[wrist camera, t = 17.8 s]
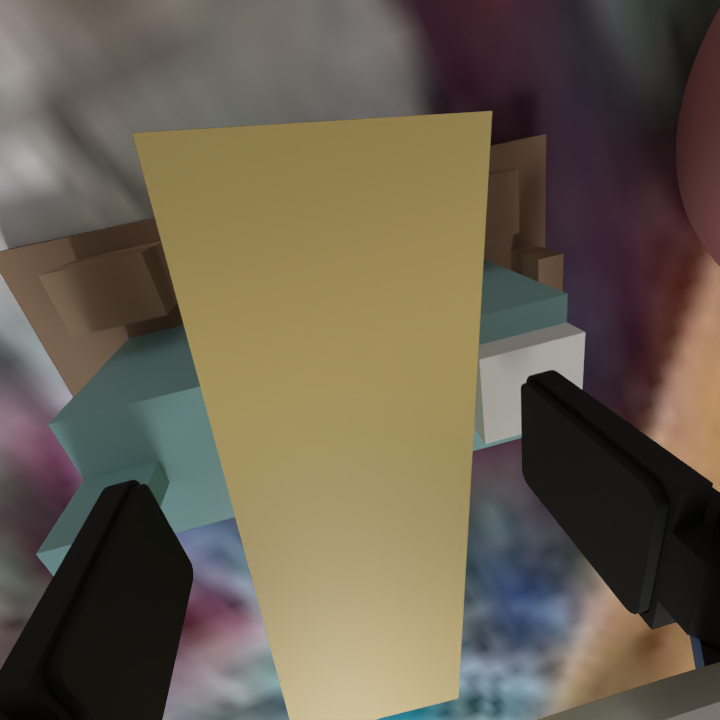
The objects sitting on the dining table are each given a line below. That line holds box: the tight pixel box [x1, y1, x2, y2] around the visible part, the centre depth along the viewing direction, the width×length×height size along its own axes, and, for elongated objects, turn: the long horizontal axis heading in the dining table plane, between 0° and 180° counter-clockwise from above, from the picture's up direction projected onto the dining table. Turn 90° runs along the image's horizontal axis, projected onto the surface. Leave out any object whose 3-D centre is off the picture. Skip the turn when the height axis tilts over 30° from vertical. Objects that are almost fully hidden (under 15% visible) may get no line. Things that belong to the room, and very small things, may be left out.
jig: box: [0, 134, 564, 397], centre depth 16 cm, size 20×12×4 cm, turn 101°
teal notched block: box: [36, 259, 585, 576], centre depth 13 cm, size 14×4×8 cm, turn 101°
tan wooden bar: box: [132, 111, 492, 720], centre depth 10 cm, size 4×14×4 cm, turn 4°
